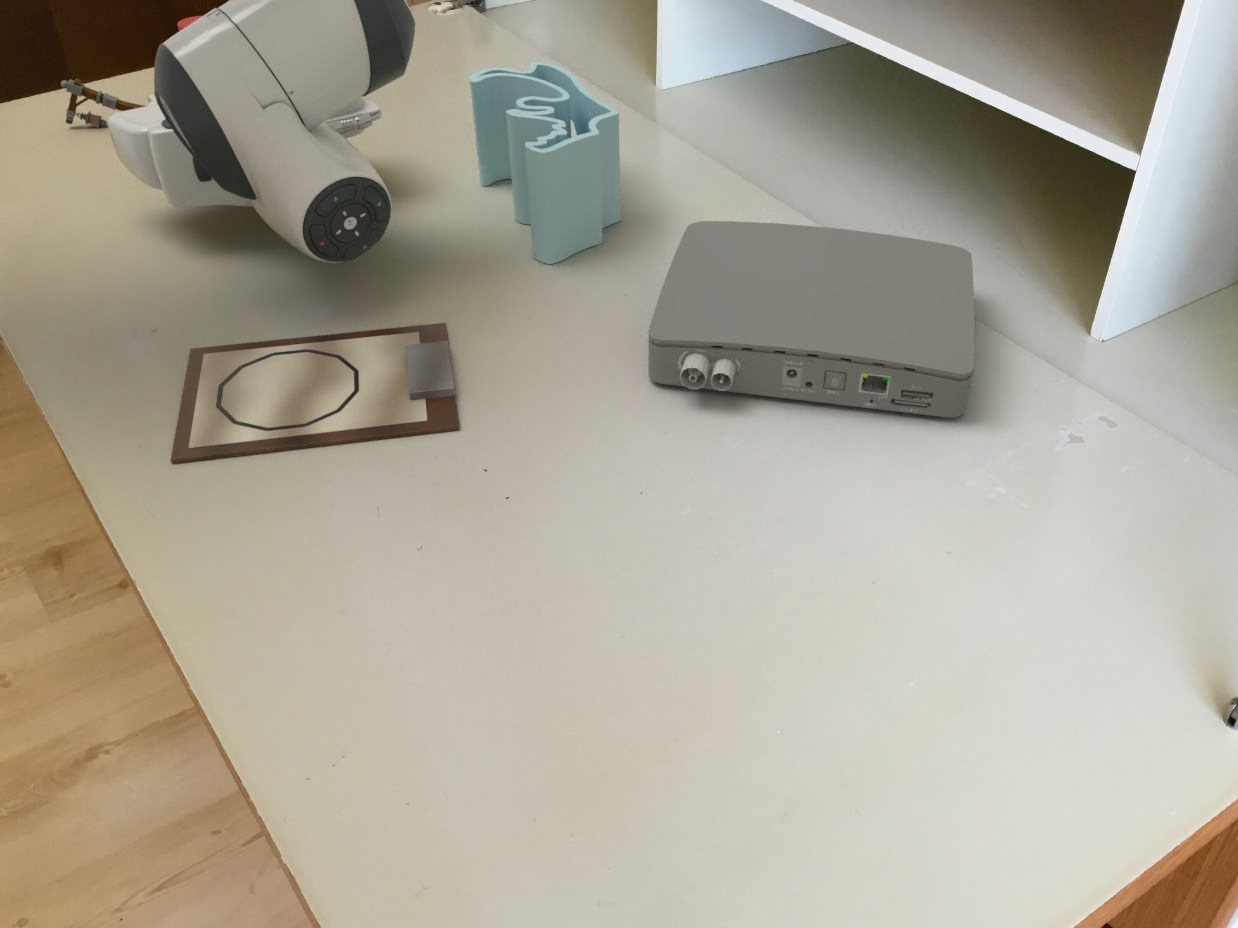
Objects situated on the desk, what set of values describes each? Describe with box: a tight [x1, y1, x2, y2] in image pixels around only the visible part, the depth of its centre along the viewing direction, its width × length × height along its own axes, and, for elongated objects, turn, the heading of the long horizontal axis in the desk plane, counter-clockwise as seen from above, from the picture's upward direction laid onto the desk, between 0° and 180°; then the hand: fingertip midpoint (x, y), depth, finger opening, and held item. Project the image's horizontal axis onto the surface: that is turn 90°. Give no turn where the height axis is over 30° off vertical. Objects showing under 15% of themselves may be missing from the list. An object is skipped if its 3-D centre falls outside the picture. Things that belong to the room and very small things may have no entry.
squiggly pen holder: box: [469, 61, 622, 265], centre depth 96 cm, size 18×10×9 cm, turn 31°
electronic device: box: [647, 220, 975, 418], centre depth 82 cm, size 19×22×5 cm
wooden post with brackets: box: [60, 78, 146, 129], centre depth 110 cm, size 2×8×4 cm, turn 99°
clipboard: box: [170, 322, 461, 464], centre depth 78 cm, size 18×13×1 cm
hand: (212, 91), depth 100 cm, fingers open, 8 cm apart
